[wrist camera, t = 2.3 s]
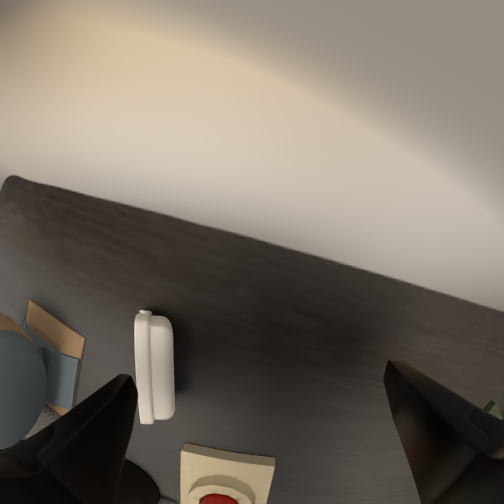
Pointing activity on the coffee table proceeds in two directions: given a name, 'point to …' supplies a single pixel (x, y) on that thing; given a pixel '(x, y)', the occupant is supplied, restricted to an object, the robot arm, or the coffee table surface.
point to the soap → (154, 367)
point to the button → (218, 499)
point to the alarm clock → (36, 371)
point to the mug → (135, 487)
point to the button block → (224, 475)
